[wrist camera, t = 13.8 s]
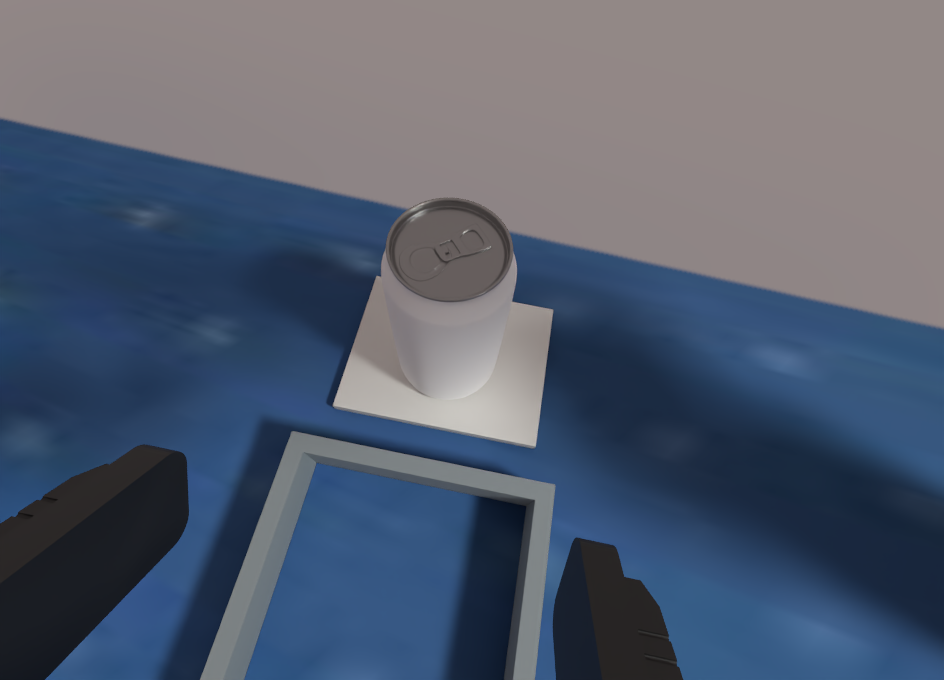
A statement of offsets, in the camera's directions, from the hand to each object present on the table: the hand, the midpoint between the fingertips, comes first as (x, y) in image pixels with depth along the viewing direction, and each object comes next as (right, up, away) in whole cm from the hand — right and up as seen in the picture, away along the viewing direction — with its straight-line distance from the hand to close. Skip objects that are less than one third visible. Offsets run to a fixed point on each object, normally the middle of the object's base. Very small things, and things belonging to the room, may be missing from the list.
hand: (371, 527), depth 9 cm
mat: (+1, +3, +22) cm, 22 cm away
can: (0, +3, +22) cm, 22 cm away
